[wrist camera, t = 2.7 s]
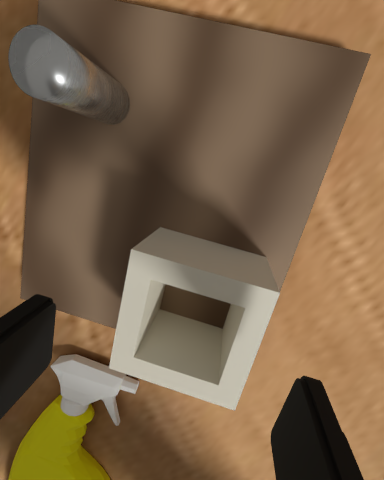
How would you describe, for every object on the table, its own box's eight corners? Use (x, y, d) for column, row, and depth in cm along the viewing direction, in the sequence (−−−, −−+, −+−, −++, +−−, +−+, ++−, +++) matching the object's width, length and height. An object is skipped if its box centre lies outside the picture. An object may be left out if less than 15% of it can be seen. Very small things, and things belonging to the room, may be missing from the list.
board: (357, 65, 14) (370, 54, 13) (248, 357, 20) (249, 371, 19) (57, 1, 16) (39, -16, 14) (34, 289, 22) (20, 298, 20)
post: (133, 84, 15) (70, 32, 9) (126, 128, 16) (64, 104, 10) (94, 75, 15) (9, 18, 9) (89, 119, 16) (7, 90, 10)
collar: (266, 257, 16) (280, 292, 12) (234, 348, 18) (234, 410, 14) (160, 227, 17) (131, 249, 12) (140, 318, 19) (108, 368, 14)
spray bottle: (14, 503, 30) (47, 329, 24) (100, 543, 30) (160, 375, 23) (-9, 537, 27) (21, 351, 21) (86, 582, 27) (149, 403, 20)
